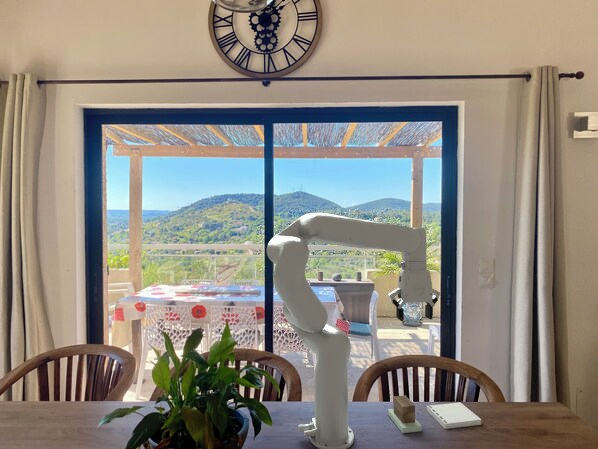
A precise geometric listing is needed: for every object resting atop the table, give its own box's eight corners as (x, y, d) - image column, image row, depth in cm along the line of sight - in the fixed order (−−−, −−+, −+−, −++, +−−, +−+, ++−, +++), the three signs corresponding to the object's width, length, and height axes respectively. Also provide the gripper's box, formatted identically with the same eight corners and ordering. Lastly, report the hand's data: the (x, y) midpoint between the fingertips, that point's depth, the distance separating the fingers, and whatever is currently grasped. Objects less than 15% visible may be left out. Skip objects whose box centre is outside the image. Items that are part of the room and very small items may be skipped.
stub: (402, 433, 98) (402, 410, 98) (387, 414, 108) (387, 393, 108) (421, 430, 99) (421, 408, 99) (405, 412, 109) (405, 391, 109)
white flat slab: (444, 428, 100) (444, 423, 100) (426, 410, 110) (426, 405, 110) (481, 424, 102) (481, 419, 102) (460, 406, 112) (460, 401, 112)
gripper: (393, 268, 104) (394, 324, 104) (445, 266, 107) (446, 321, 107) (383, 265, 111) (384, 317, 111) (432, 263, 114) (433, 314, 114)
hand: (414, 319), depth 109 cm, fingers open, 9 cm apart
